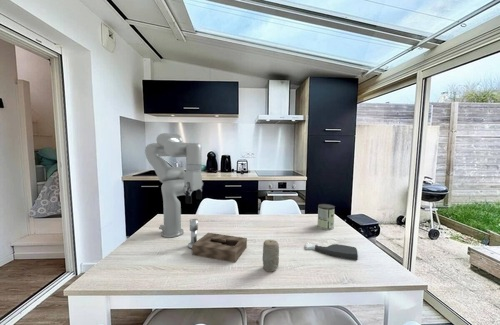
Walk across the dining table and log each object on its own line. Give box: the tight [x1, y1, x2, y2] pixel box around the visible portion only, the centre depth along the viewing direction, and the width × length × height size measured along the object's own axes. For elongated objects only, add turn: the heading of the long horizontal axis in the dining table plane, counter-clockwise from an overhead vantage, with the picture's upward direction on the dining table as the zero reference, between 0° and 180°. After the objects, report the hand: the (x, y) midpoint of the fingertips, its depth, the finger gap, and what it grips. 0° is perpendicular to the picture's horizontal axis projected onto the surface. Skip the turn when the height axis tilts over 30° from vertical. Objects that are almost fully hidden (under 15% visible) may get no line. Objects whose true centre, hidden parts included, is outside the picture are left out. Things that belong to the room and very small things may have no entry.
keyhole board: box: [191, 232, 248, 263], centre depth 113 cm, size 22×16×5 cm
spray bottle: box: [305, 241, 359, 261], centre depth 115 cm, size 3×11×24 cm
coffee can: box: [317, 203, 336, 231], centre depth 149 cm, size 10×10×14 cm
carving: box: [262, 239, 280, 272], centre depth 97 cm, size 6×8×12 cm
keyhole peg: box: [187, 218, 199, 250], centre depth 117 cm, size 6×6×14 cm
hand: (193, 201), depth 116 cm, fingers open, 9 cm apart
